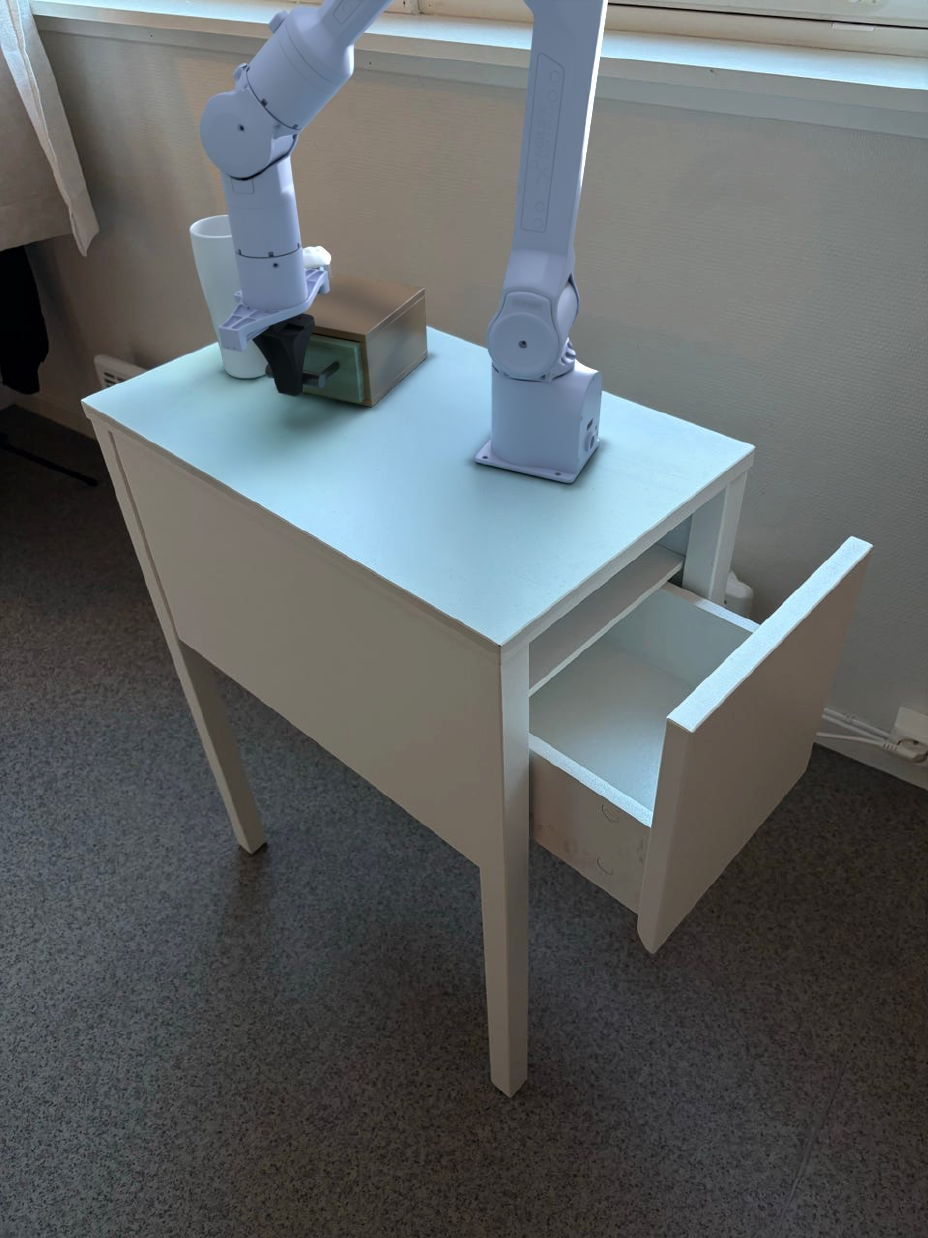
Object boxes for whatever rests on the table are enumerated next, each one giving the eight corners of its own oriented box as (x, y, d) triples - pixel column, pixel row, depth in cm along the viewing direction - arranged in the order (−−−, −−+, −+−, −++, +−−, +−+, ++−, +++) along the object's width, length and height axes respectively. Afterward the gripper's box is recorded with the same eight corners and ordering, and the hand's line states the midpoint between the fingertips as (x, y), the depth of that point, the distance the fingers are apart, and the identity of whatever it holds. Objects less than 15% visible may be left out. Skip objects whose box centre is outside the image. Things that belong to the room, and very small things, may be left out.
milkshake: (320, 315, 109) (310, 228, 103) (346, 329, 106) (336, 240, 99) (288, 326, 107) (275, 238, 100) (312, 340, 104) (301, 250, 97)
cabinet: (372, 407, 92) (365, 334, 87) (282, 388, 95) (271, 317, 90) (428, 356, 100) (425, 287, 95) (344, 340, 104) (337, 273, 99)
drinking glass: (206, 368, 99) (175, 224, 89) (260, 349, 102) (235, 209, 92) (239, 390, 95) (210, 242, 85) (294, 369, 98) (272, 225, 89)
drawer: (338, 422, 88) (331, 366, 84) (256, 404, 91) (246, 349, 87) (413, 356, 98) (410, 303, 95) (337, 341, 101) (331, 289, 98)
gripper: (275, 215, 85) (296, 354, 94) (176, 268, 75) (210, 418, 84) (341, 224, 82) (356, 366, 91) (248, 281, 72) (275, 433, 81)
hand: (290, 392), depth 87 cm, fingers closed, pressing on drawer
